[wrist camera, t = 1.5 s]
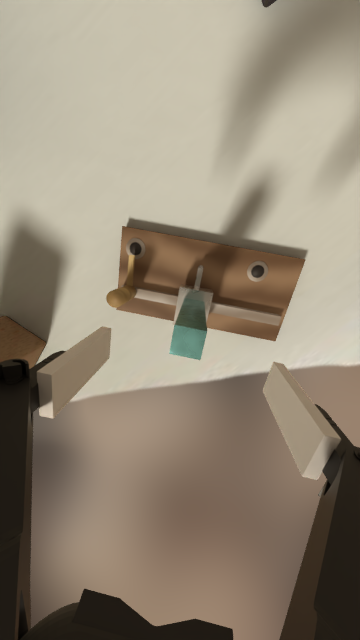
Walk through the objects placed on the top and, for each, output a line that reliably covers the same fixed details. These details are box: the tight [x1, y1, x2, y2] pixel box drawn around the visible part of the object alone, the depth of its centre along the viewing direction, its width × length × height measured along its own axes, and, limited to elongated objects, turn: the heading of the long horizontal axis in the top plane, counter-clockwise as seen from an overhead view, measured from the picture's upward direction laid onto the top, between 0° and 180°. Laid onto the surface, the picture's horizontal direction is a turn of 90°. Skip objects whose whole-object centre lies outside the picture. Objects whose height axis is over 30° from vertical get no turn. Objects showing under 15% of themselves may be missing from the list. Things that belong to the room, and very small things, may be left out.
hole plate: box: [107, 226, 305, 341], centre depth 30 cm, size 14×29×9 cm, turn 80°
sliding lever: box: [169, 265, 213, 360], centre depth 25 cm, size 9×5×16 cm, turn 170°
